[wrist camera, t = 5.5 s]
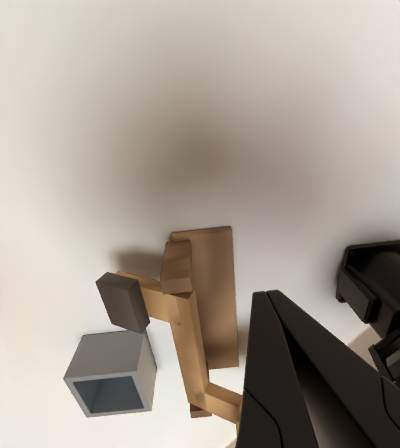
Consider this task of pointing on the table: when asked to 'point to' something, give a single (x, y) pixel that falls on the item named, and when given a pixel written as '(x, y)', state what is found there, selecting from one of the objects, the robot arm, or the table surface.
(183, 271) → the frame
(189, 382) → the catapult lever
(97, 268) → the table surface
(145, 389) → the grey open box
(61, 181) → the table surface
